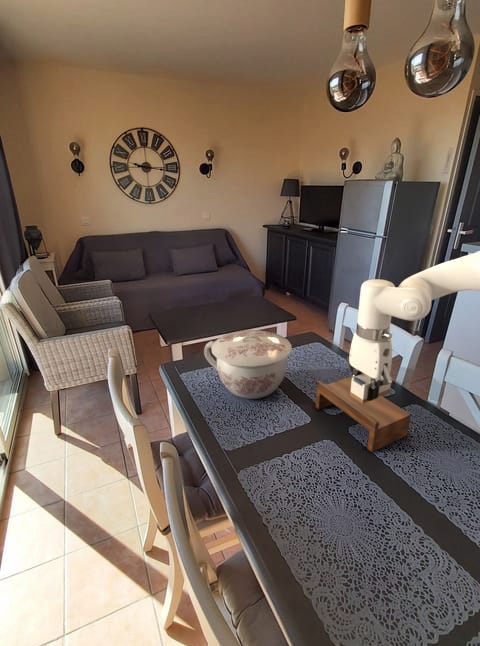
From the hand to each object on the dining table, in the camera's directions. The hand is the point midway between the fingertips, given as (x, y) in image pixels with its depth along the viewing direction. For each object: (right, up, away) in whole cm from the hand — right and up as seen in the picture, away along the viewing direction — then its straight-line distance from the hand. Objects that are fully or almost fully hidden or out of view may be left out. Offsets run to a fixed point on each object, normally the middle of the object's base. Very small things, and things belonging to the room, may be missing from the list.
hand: (364, 393), depth 95 cm
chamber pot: (-29, -4, +35) cm, 45 cm away
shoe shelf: (+4, -11, +16) cm, 20 cm away
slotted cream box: (+2, 0, +1) cm, 2 cm away
